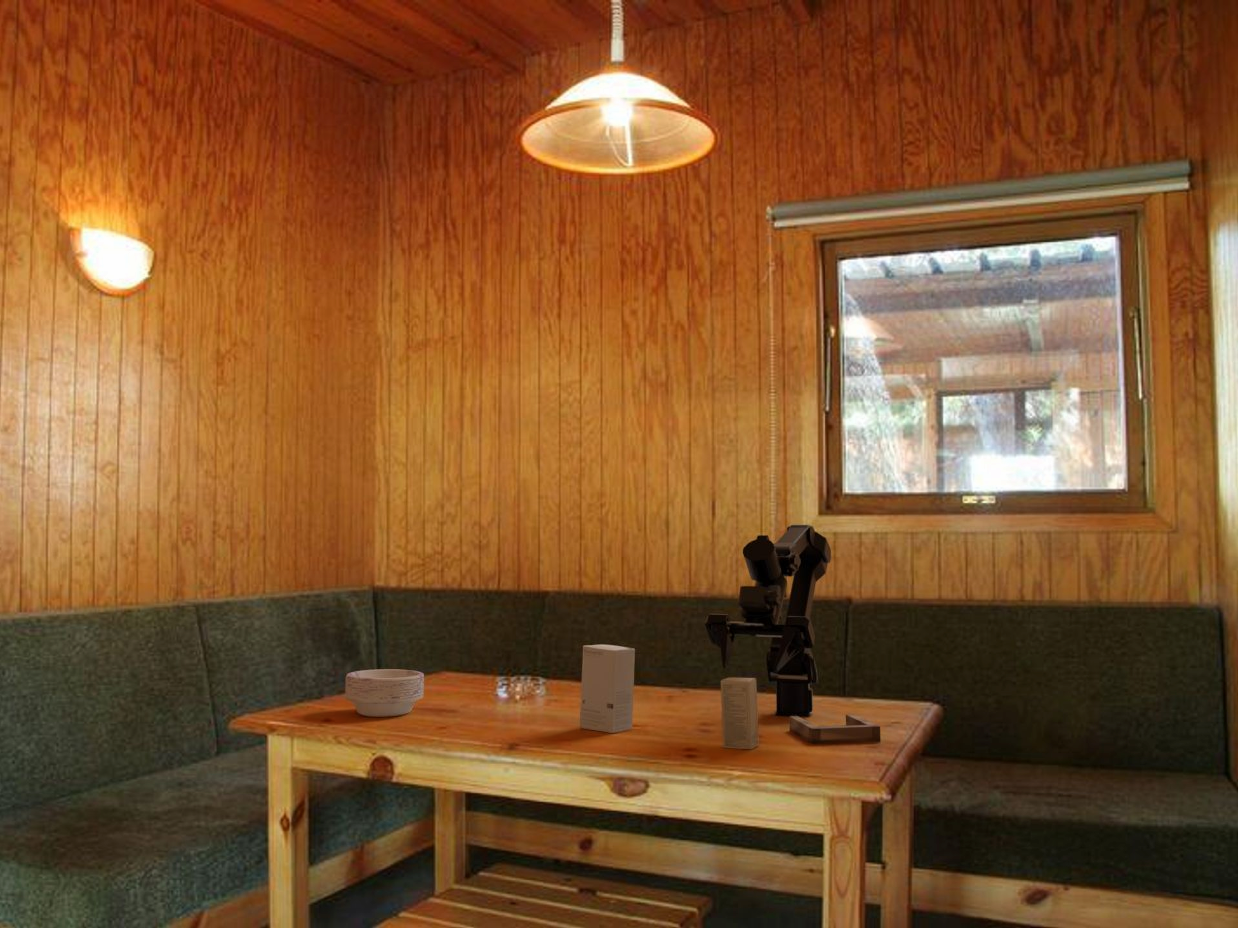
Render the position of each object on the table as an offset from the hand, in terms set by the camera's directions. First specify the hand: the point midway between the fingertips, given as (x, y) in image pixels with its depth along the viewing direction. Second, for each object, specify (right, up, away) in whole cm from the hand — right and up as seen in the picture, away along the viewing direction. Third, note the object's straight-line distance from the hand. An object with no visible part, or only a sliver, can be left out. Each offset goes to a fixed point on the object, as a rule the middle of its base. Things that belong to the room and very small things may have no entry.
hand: (749, 668), depth 178 cm
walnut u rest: (+15, -12, +2) cm, 19 cm away
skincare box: (-24, -13, +10) cm, 29 cm away
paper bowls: (-69, -14, +28) cm, 75 cm away
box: (-2, -12, -6) cm, 14 cm away
